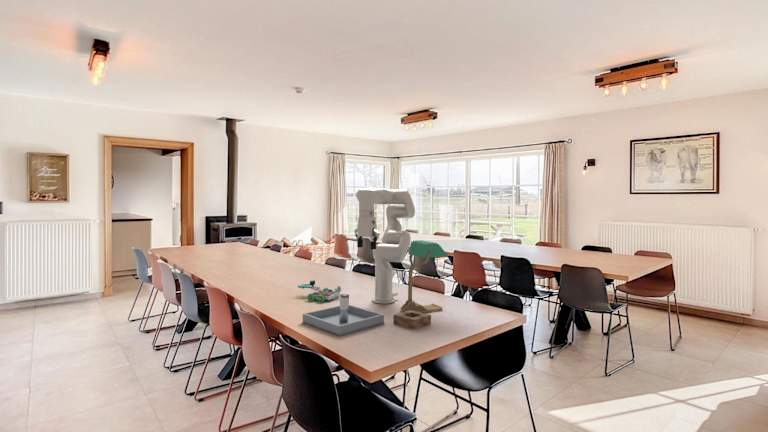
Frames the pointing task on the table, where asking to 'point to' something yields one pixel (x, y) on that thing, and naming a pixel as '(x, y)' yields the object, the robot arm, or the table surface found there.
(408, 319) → the brown square hollow block
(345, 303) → the pin
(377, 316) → the tray
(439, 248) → the banker's lamp
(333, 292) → the robot kit
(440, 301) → the table surface
